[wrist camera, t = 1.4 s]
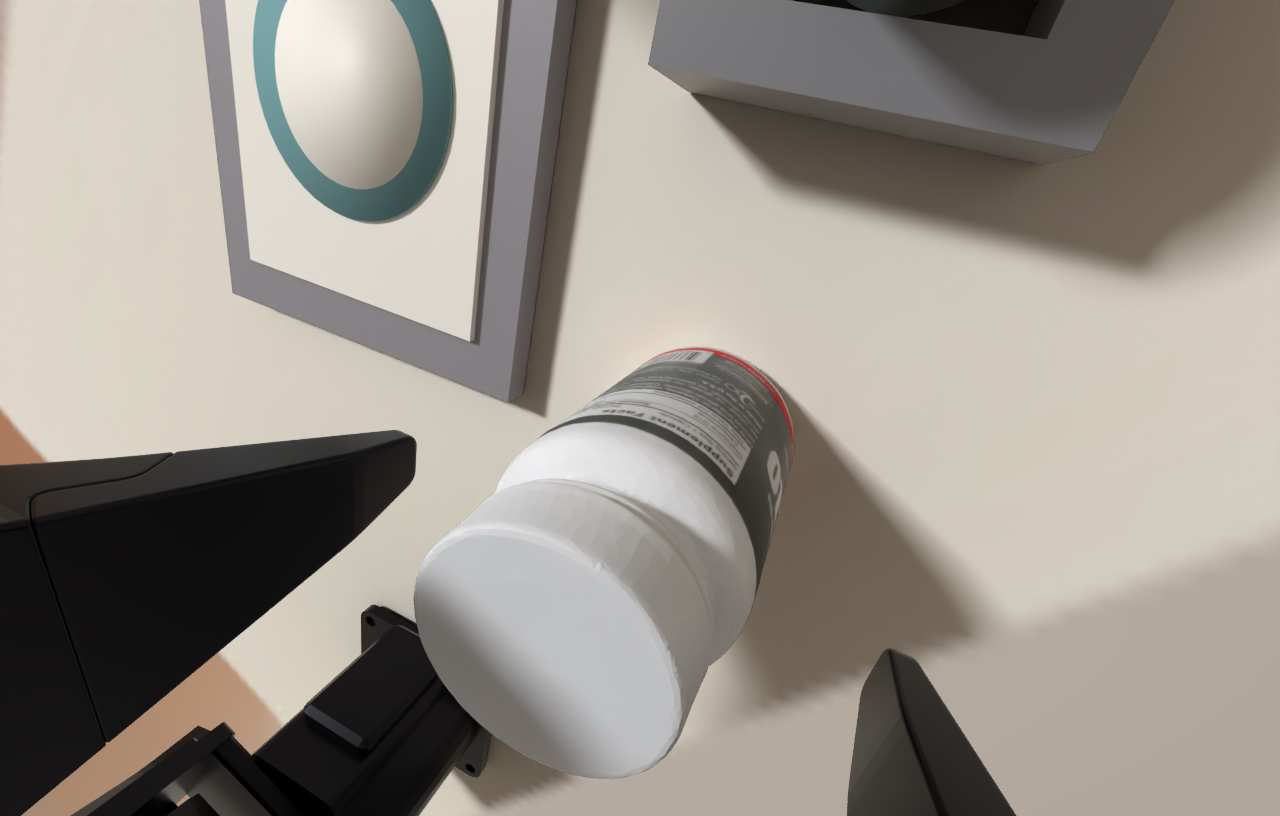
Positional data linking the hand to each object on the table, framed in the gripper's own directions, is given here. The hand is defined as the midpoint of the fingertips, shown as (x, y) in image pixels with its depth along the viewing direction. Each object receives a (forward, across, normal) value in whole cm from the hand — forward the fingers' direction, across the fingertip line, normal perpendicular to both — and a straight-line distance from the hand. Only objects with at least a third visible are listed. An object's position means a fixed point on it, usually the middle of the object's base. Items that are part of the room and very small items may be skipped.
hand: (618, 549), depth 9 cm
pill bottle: (+6, 0, 0) cm, 6 cm away
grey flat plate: (+6, +11, -6) cm, 14 cm away
